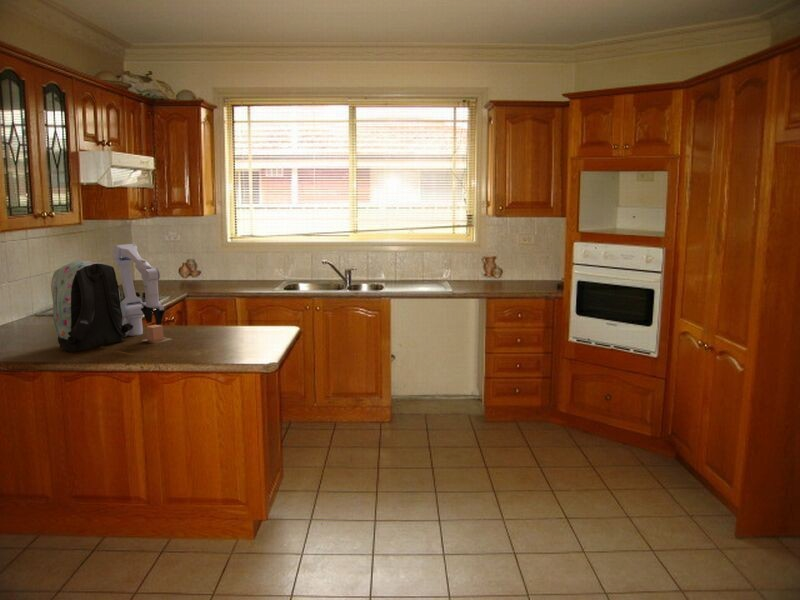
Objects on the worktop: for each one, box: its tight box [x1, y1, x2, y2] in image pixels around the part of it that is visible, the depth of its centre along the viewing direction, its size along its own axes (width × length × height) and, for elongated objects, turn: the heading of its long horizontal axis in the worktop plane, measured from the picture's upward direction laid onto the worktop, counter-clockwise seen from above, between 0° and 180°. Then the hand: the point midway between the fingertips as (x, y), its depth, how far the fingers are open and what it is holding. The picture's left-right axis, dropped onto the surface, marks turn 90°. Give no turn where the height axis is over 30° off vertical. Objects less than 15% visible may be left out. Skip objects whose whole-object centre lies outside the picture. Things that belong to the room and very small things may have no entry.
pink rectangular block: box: [145, 324, 165, 342], centre depth 305 cm, size 5×5×7 cm
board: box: [141, 336, 173, 344], centre depth 307 cm, size 10×10×1 cm
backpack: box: [50, 259, 133, 353], centre depth 297 cm, size 32×24×39 cm
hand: (154, 323), depth 305 cm, fingers open, 7 cm apart
